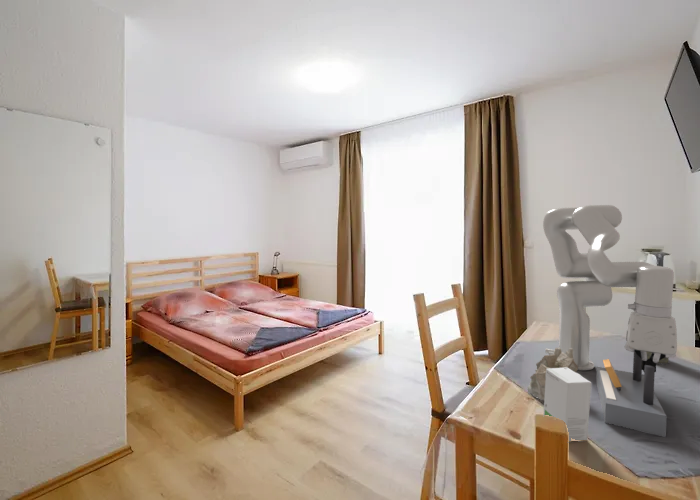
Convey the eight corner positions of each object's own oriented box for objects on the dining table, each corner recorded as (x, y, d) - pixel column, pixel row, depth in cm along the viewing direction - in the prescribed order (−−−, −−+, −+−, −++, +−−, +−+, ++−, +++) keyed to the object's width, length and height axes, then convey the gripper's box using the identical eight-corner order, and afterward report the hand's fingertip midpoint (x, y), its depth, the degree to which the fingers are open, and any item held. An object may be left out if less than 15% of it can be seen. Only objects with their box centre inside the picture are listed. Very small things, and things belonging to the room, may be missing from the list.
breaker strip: (605, 422, 89) (605, 402, 88) (596, 382, 110) (596, 366, 110) (665, 437, 82) (666, 415, 82) (643, 391, 104) (644, 374, 103)
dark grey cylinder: (633, 380, 100) (634, 348, 99) (632, 377, 102) (633, 346, 101) (642, 382, 99) (643, 349, 98) (640, 379, 101) (642, 347, 100)
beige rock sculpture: (558, 376, 115) (558, 335, 113) (591, 403, 99) (591, 356, 97) (513, 379, 116) (512, 338, 114) (538, 407, 99) (537, 360, 98)
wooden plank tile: (616, 391, 94) (605, 367, 96) (613, 381, 100) (602, 359, 101) (623, 390, 94) (611, 366, 95) (620, 380, 99) (608, 358, 100)
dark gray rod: (643, 403, 87) (645, 367, 86) (642, 400, 89) (643, 364, 88) (654, 405, 86) (655, 369, 85) (652, 402, 88) (653, 366, 87)
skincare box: (542, 423, 89) (543, 367, 88) (565, 421, 89) (566, 366, 88) (565, 444, 81) (566, 382, 79) (590, 441, 81) (592, 380, 80)
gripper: (619, 310, 92) (616, 372, 94) (694, 318, 84) (688, 386, 86) (616, 303, 99) (612, 362, 101) (685, 310, 91) (680, 374, 93)
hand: (647, 373), depth 93 cm, fingers closed
